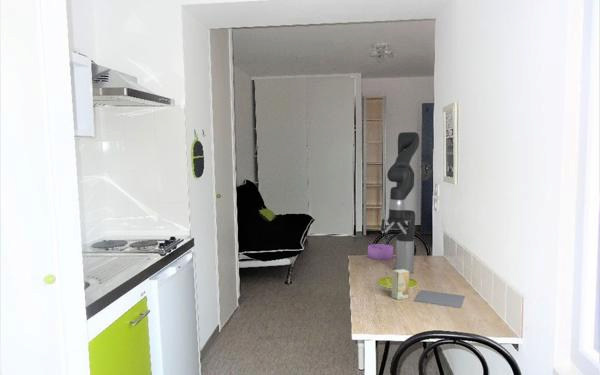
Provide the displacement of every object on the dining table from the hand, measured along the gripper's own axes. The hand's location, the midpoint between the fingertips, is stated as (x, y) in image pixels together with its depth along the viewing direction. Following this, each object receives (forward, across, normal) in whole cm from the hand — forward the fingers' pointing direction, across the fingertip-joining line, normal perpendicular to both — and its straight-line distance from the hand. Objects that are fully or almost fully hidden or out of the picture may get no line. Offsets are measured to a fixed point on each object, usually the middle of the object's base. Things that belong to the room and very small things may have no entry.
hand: (395, 240), depth 224 cm
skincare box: (+19, -5, +28) cm, 34 cm away
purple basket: (+22, +6, -48) cm, 53 cm away
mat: (+19, -22, +25) cm, 38 cm away
